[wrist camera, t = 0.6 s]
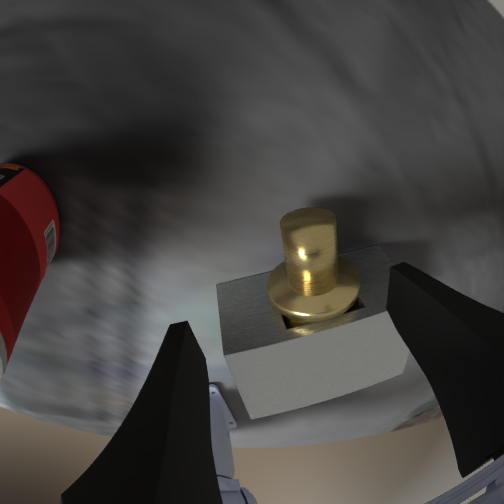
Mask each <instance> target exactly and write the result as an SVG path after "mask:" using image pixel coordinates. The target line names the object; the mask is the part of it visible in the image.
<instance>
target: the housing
mask: <svg viewBox="0 0 504 504" xmlns="http://www.w3.org/2000/svg"><path fill="white" fill-rule="evenodd" d="M338 256H340V257H343V258H345V259H346V260H348V261H350V262H351V263H352V264H353V265H354V266H355V267H356V269H357V270H358V272H359V275H360V292H359V296H358V298H357V300H356V302H355V303H354V305H353V306H352V307H351V308H350V309H348V310H347V311H346V313H345V314H342V315H339V316H337V317H334V318H331V319H328V320H324V321H317V322H314V323H310V324H306V325H303V326H299V327H295V328H291V329H287V322H286V316H284V315H282V314H281V313H279V312H278V311H277V310H276V309H275V308H274V307H273V305H272V304H271V302H270V299H269V294H268V289H267V282H268V278H269V276H270V274H271V272H272V271H271V272H267V273H263V274H259V275H255V276H250V277H246V278H242V279H238V280H234V281H229V282H225V283H221V284H217V285H216V289H217V299H218V309H219V318H220V327H221V336H222V345H223V354H224V358H225V360H226V363H227V365H228V367H229V370H230V372H231V375H232V377H233V379H234V382H235V384H236V386H237V389H238V391H239V393H240V396H241V398H242V400H243V403H244V405H245V407H246V409H247V412H248V414H249V416H250V418H251V419H256V418H261V417H265V416H270V415H274V414H278V413H283V412H287V411H291V410H294V409H298V408H302V407H306V406H309V405H313V404H316V403H320V402H323V401H326V400H330V399H333V398H336V397H339V396H342V395H345V394H348V393H351V392H354V391H357V390H360V389H363V388H366V387H369V386H371V385H374V384H377V383H379V382H382V381H385V380H387V379H390V378H392V377H395V376H397V375H400V374H402V373H403V370H404V367H405V364H406V361H407V358H408V354H409V351H410V350H409V349H408V347H407V346H406V344H405V342H404V341H403V339H402V338H401V336H400V335H399V333H398V332H397V330H396V328H395V326H394V324H393V322H392V320H391V318H390V316H389V313H388V311H387V309H386V304H387V296H388V286H389V275H390V266H394V263H393V262H392V261H391V260H390V259H389V258H388V257H387V255H386V254H385V253H384V252H383V251H382V250H381V249H380V248H379V247H378V245H373V246H370V247H366V248H362V249H358V250H354V251H351V252H347V253H343V254H339V255H338Z"/></svg>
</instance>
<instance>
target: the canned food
mask: <svg viewBox="0 0 504 504" xmlns="http://www.w3.org/2000/svg"><path fill="white" fill-rule="evenodd" d="M59 234H60V218H59V212H58V208H57V204H56V202H55V199H54V197H53V194H52V193H51V191H50V189H49V188H48V186H47V185H46V183H45V182H44V181H43V180H42V179H41V178H40V177H39V176H38V175H37V174H36V173H34V172H33V171H32V170H30V169H28V168H26V167H24V166H22V165H18V164H12V163H3V164H0V381H1V378H2V375H3V374H4V372H5V370H6V367H7V364H8V361H9V358H10V356H11V354H12V351H13V348H14V345H15V342H16V340H17V337H18V334H19V332H20V329H21V327H22V324H23V322H24V319H25V317H26V315H27V312H28V310H29V308H30V305H31V303H32V301H33V298H34V296H35V294H36V292H37V290H38V287H39V285H40V283H41V281H42V279H43V277H44V275H45V273H46V271H47V269H48V267H49V265H50V263H51V261H52V259H53V257H54V255H55V253H56V251H57V247H58V244H59Z"/></svg>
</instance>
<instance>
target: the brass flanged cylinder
mask: <svg viewBox="0 0 504 504" xmlns="http://www.w3.org/2000/svg"><path fill="white" fill-rule="evenodd" d="M280 228H281V235H282V241H283V248H284V254H285V261H284V262H282V263H281V264H279V265H278V266H277V267H276V268H275V269H274V270H273V271H272V272H271V274H270V276H269V278H268V282H267V289H268V294H269V299H270V302H271V304H272V305H273V307H274V308H275V309H276V310H277V311H278V312H279V313H281V314H282V315H284V316H286V322H287V329H291V328H295V327H299V326H303V325H306V324H310V323H314V322H317V321H324V320H328V319H331V318H334V317H337V316H339V315H342V314H345V313H346V311H347V310H348V309H350V308H351V307H352V306H353V305H354V303H355V302H356V300H357V298H358V296H359V292H360V275H359V272H358V270H357V269H356V267H355V266H354V265H353V264H352V263H351V262H350V261H348V260H346V259H345V258H343V257H340V256H338V243H337V222H336V216H335V214H334V213H333V212H331V211H329V210H327V209H323V208H317V207H308V208H301V209H297V210H294V211H291V212H289V213H287V214H286V215H284V216H283V217H282V219H281V220H280Z"/></svg>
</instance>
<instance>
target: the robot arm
mask: <svg viewBox="0 0 504 504" xmlns="http://www.w3.org/2000/svg"><path fill="white" fill-rule="evenodd" d="M386 309H387V311H388V313H389V316H390V318H391V320H392V322H393V324H394V326H395V328H396V330H397V332H398V333H399V335H400V336H401V338H402V339H403V341H404V342H405V344H406V346H407V347H408V349H409V350H410V352H411V353H412V355H413V356H414V358H415V360H416V361H417V363H418V364H419V366H420V367H421V369H422V371H423V372H424V374H425V375H426V377H427V379H428V381H429V383H430V385H431V387H432V389H433V391H434V394H435V396H436V398H437V400H438V403H439V405H440V408H441V410H442V413H443V416H444V418H445V421H446V424H447V427H448V430H449V433H450V436H451V439H452V443H453V447H454V451H455V455H456V459H457V464H458V469H459V472H460V474H461V476H462V477H463V478H464V477H466V476H467V475H469V474H470V473H472V472H473V471H475V470H477V469H478V468H480V467H481V466H483V465H484V464H485V463H487V462H488V461H490V460H491V459H494V462H492V463H491V464H490V465H488V466H487V467H485V468H484V469H482V470H481V471H479V472H478V473H476V474H475V475H474V476H472V477H470V478H469V479H467V480H466V481H464V482H462V483H461V484H459V485H458V486H456V487H454V488H452V489H451V490H449V491H447V492H445V493H444V494H442V495H440V496H438V497H436V498H435V499H433V500H431V501H429V502H427V503H425V504H460V503H461V502H463V501H465V500H466V499H468V498H469V497H471V496H472V495H474V494H475V493H477V492H478V491H480V490H481V489H483V488H484V487H486V486H487V485H488V486H487V488H486V492H485V493H484V494H482V495H481V496H479V497H477V498H476V499H474V500H472V501H470V502H469V503H467V504H504V313H502V312H500V311H497V310H495V309H493V308H490V307H488V306H486V305H484V304H481V303H479V302H477V301H475V300H473V299H471V298H469V297H467V296H465V295H463V294H462V293H460V292H458V291H456V290H454V289H452V288H450V287H449V286H447V285H445V284H443V283H442V282H440V281H438V280H436V279H434V278H433V277H431V276H429V275H427V274H426V273H424V272H422V271H420V270H419V269H417V268H415V267H413V266H411V265H409V264H407V263H405V262H403V263H400V264H397V265H394V266H390V275H389V286H388V296H387V304H386ZM236 427H237V423H236V421H235V419H234V418H233V416H232V414H231V412H230V410H229V408H228V406H227V405H226V403H225V401H224V399H223V397H222V395H221V393H220V391H219V389H218V387H217V386H216V385H214V384H210V385H209V378H208V371H207V365H206V358H205V356H204V354H203V352H202V350H201V348H200V346H199V344H198V342H197V340H196V338H195V336H194V334H193V332H192V329H191V327H190V325H189V323H188V321H184V322H179V323H174V324H170V326H169V328H168V330H167V332H166V335H165V337H164V340H163V342H162V345H161V347H160V349H159V352H158V354H157V357H156V359H155V361H154V363H153V365H152V368H151V370H150V372H149V374H148V377H147V379H146V381H145V383H144V385H143V387H142V389H141V391H140V393H139V395H138V397H137V399H136V400H135V402H134V404H133V406H132V408H131V409H130V411H129V413H128V414H127V416H126V418H125V419H124V421H123V423H122V424H121V426H120V427H119V429H118V430H117V432H116V433H115V435H114V436H113V437H112V439H111V440H110V442H109V443H108V444H107V446H106V447H105V448H104V450H103V451H102V452H101V453H100V455H99V456H98V457H97V458H96V459H95V461H94V462H93V463H92V464H91V466H90V467H89V468H88V469H87V470H86V471H85V472H84V473H83V474H82V475H81V476H80V477H79V478H78V479H77V480H76V481H75V482H74V483H73V484H72V485H71V486H70V487H69V488H68V489H67V490H66V491H65V492H64V493H62V494H61V501H60V504H257V501H256V499H255V497H254V496H253V494H252V493H250V492H249V490H247V489H246V488H244V487H240V483H239V480H238V479H233V477H234V472H235V468H234V461H233V455H232V447H231V440H230V433H229V429H233V428H236Z"/></svg>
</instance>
